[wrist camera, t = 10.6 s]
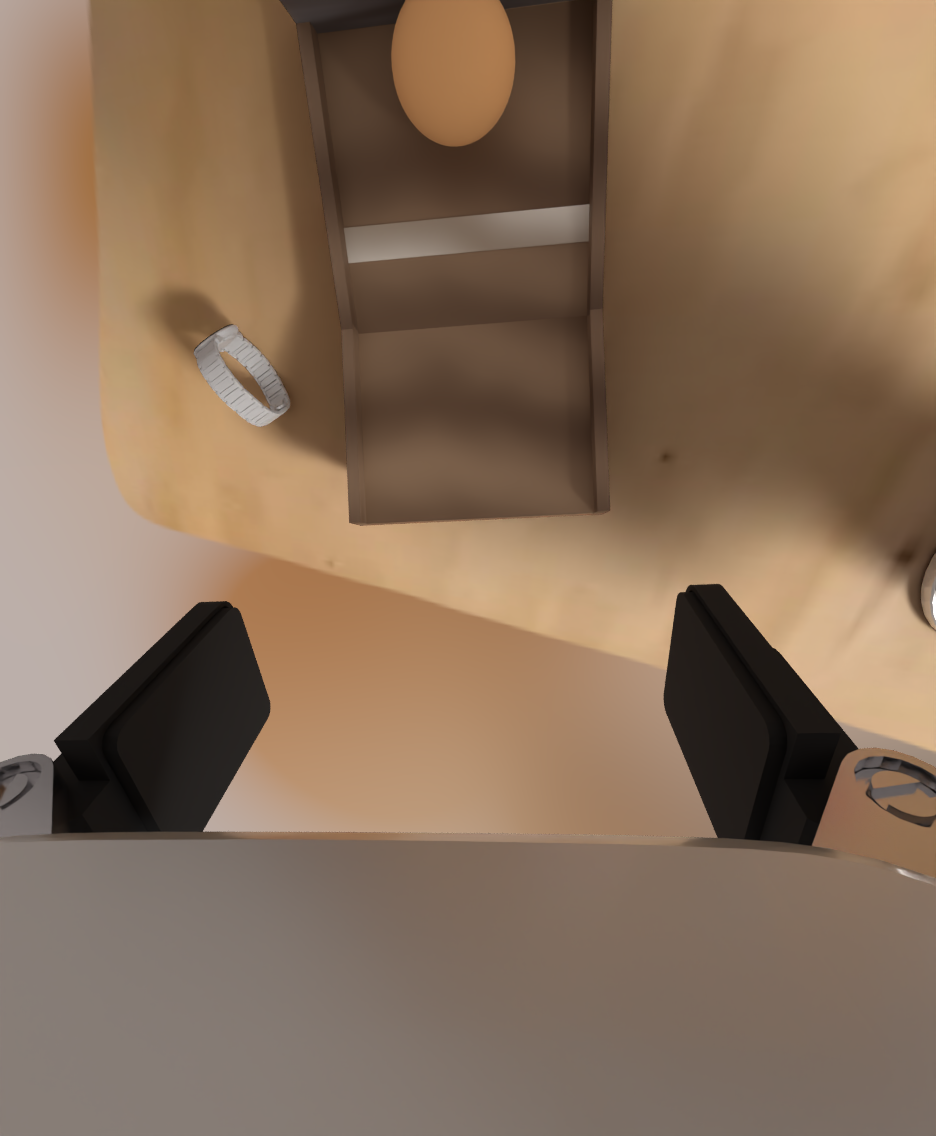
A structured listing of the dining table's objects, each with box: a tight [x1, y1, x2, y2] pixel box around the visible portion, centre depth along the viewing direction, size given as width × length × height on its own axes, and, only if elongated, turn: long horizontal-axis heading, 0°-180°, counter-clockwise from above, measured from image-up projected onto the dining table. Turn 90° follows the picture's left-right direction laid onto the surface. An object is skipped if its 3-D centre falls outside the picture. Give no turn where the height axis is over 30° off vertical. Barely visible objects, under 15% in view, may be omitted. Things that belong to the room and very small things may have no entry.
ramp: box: [280, 0, 612, 526], centre depth 24 cm, size 22×13×7 cm, turn 4°
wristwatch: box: [194, 324, 290, 427], centre depth 27 cm, size 3×5×5 cm, turn 31°
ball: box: [391, 0, 515, 147], centre depth 20 cm, size 5×5×5 cm
